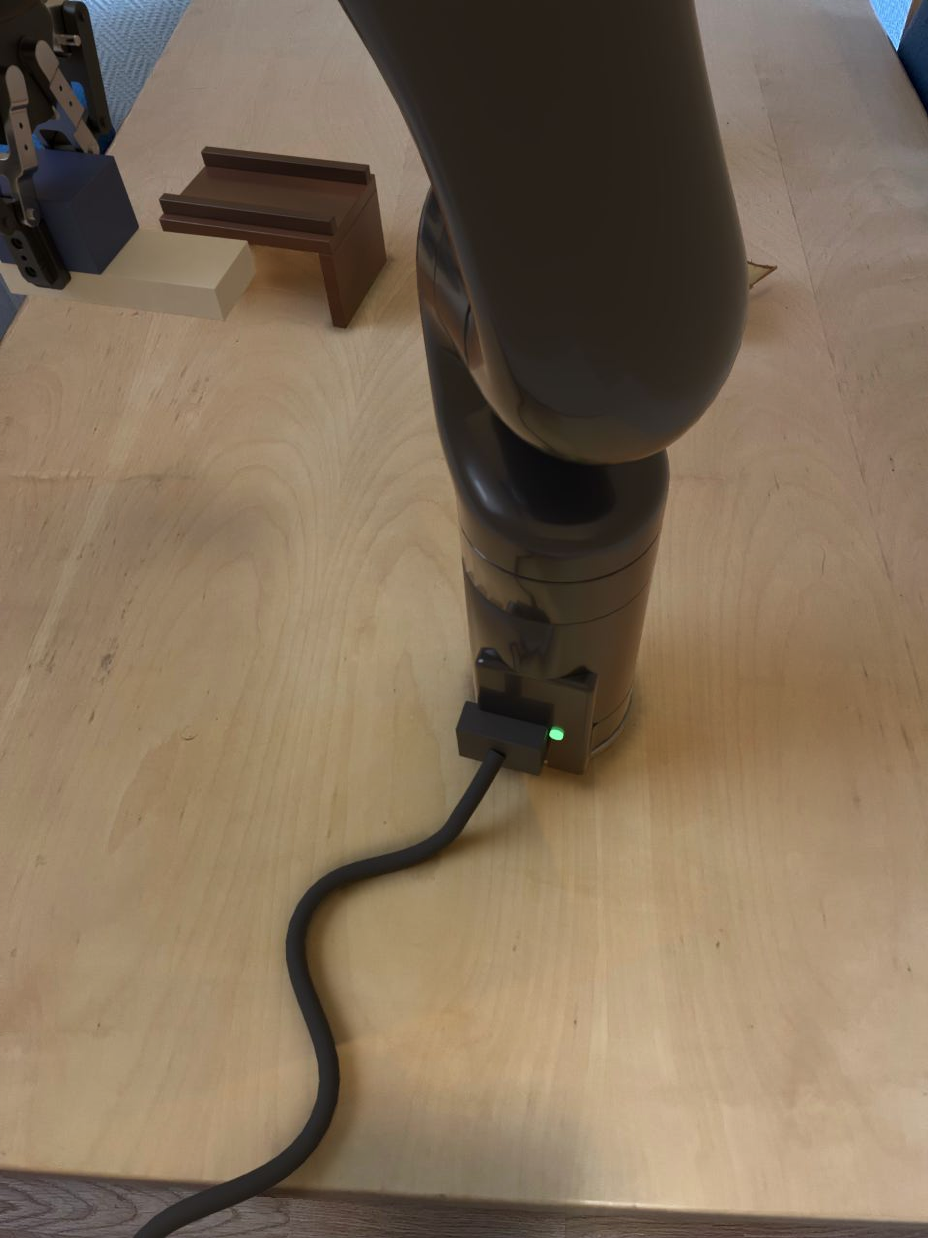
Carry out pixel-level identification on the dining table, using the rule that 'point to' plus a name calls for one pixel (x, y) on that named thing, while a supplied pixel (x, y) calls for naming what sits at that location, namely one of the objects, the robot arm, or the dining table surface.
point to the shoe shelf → (289, 214)
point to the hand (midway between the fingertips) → (76, 255)
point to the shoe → (125, 246)
